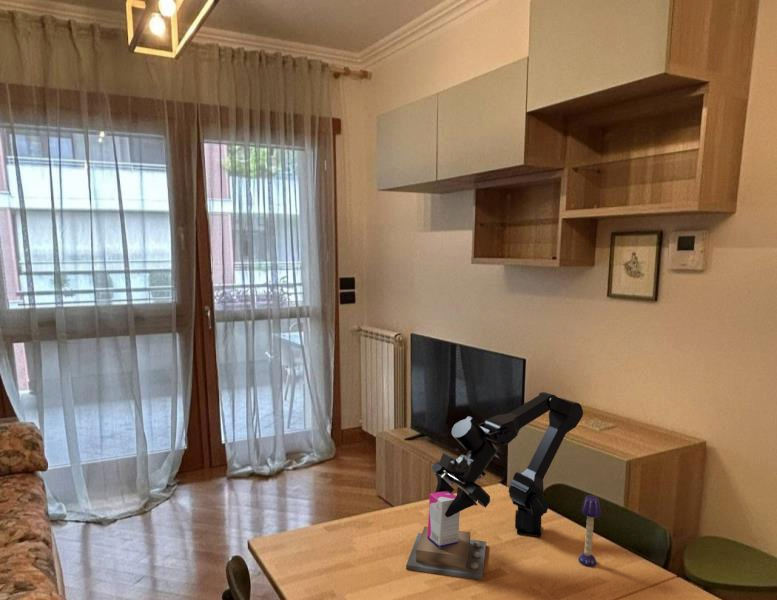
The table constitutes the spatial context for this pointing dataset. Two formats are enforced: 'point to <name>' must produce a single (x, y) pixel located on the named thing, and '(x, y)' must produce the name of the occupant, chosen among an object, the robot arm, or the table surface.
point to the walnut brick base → (450, 569)
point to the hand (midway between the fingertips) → (439, 511)
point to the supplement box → (442, 520)
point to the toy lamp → (589, 528)
